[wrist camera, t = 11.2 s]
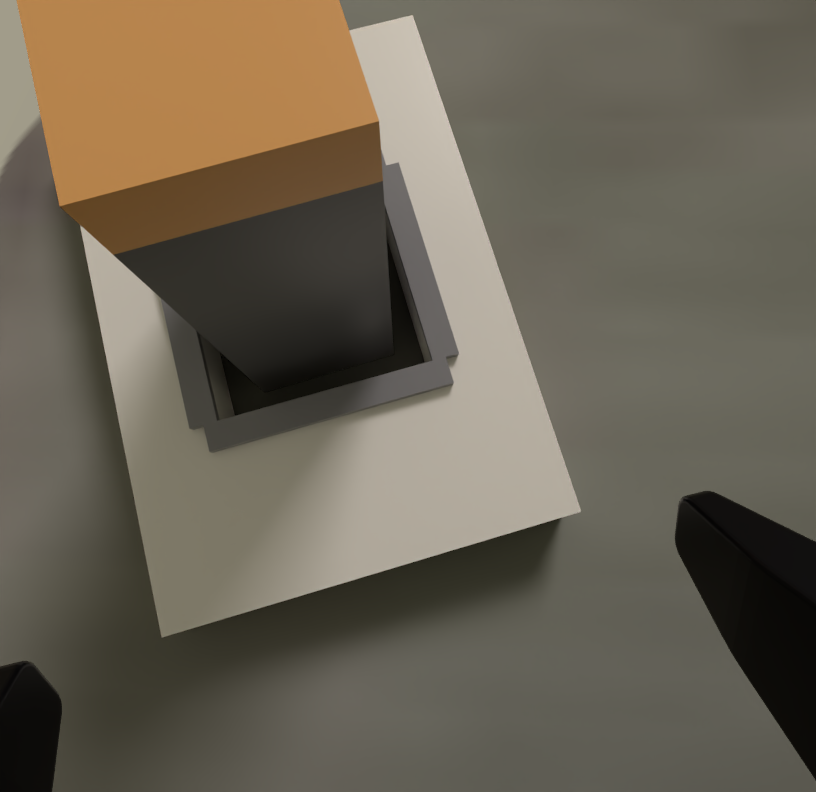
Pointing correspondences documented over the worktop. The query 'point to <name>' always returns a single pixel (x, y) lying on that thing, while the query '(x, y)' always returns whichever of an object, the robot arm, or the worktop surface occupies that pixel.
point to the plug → (225, 168)
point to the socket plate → (339, 403)
